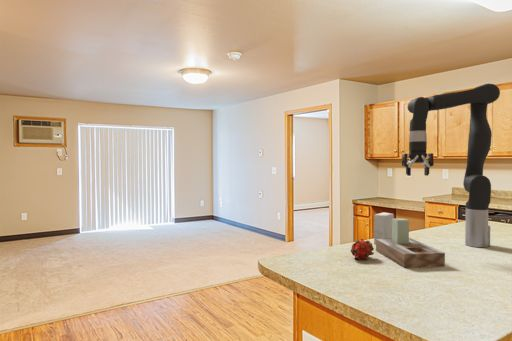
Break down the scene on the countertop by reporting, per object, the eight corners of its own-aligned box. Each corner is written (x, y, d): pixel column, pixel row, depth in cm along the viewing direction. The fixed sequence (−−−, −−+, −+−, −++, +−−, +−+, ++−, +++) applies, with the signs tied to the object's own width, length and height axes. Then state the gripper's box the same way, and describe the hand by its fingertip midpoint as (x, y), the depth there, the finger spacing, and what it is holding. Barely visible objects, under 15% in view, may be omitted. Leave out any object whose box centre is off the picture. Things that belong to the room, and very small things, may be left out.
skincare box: (383, 241, 181) (383, 212, 180) (394, 244, 176) (394, 213, 176) (373, 244, 176) (373, 213, 175) (384, 246, 171) (384, 215, 170)
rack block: (410, 249, 164) (410, 238, 164) (444, 266, 139) (444, 252, 138) (375, 250, 163) (375, 239, 163) (404, 267, 137) (404, 253, 137)
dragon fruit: (372, 260, 154) (355, 269, 147) (358, 245, 159) (340, 254, 152) (382, 246, 149) (365, 255, 142) (366, 232, 154) (349, 240, 147)
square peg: (403, 250, 160) (403, 218, 160) (408, 252, 155) (408, 220, 155) (392, 250, 160) (392, 218, 159) (397, 253, 155) (397, 220, 154)
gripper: (427, 141, 175) (427, 175, 175) (399, 141, 174) (399, 175, 174) (436, 140, 167) (436, 175, 168) (407, 140, 166) (406, 176, 167)
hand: (417, 175), depth 171 cm, fingers open, 8 cm apart
